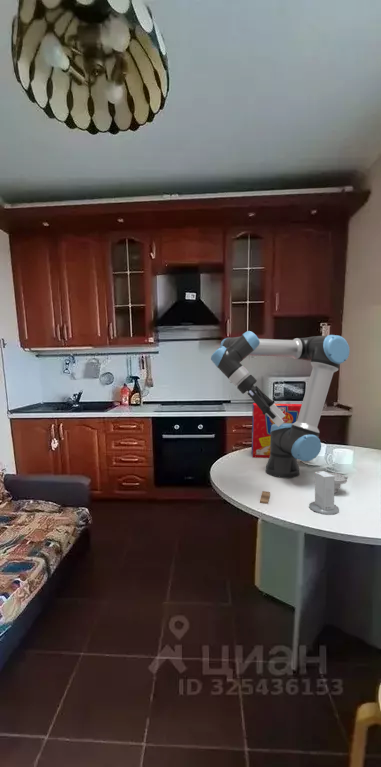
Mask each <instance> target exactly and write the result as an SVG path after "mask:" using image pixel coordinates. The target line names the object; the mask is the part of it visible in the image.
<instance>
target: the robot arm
mask: <svg viewBox="0 0 381 767" xmlns="http://www.w3.org/2000/svg"><path fill="white" fill-rule="evenodd" d="M248 356H250V357H257V356H258V357H277V358H278V357H279V358H281V357H283V358H284V357H285V358H292V359H294V360H302V361H307V362H310V365H311V367H312V370H311V372H310V376H309V379H308V382H307V386H306V388H305V391H304V392H305V393H304V397H303V399H302V402H301V404H302V406H301V409H300V412H299V416H298V419H297V421H296V422H295V423H283V422H284V421H283V420H282V418H283V417H285V415H284V414H283V412H282V411H281V410H280V409H279V408H278V407H277V406H276V405H275V404H276V401H275V400H274V399H273V400H272V398H270V397H269V396H268V395H266V394H265V393H264V392H263V391H262V390H261V388H259V387H258V386H257V385H255V384H256V383H257V380H258V379H256V378H255V377H254V376H253V375H252V374H250V371H249V370H248V369H247V368H246V367H245V366H244V365H243V364H242V362H243V360H244V359H246V358H247V357H248ZM349 357H350V345H349V344H348V341H347V339H345V338H344V337H343V336H341V335H337V334H336V335H335V334H327V335H317V336H315V335H314V336H309V337H296V338H293V339H273V338H259V337H258V336H257V334H255V333H254V332H253V331H250V330H247V331H245V332H244V333H242V334H241V336H236V337H226V338H224V339H222V340H221V342H220V345H219V348H217V349H216V350H215V351H214V352H213V353H212V354H211V356H210V360H211V361H212V363H213V364H214V365H215V367H216V368H217V369H218V370H219V371H220V372H222V374H224V376H226V378H227V379H228V380H229V383H230V384H233V385H234V386H235V387H236V386H237V387H236V388H237V390H238V391H240V393H241V394H245V393H247V395H248V396H249V397H250V398H251V399H252V401H253V403H256V404H257V406H258V407H259V408H260V409H261V411H262V412H263V415H265V414H266V415H267V416H268V417H269V418H270V419H271V420H272V421H273V422H274V423H275V424H273V425H272V426H271V431H270V433H271V441H270V457H269V458H268V460H267V462H266V463H267V464H266V466H265V473H267V474H268V475H270V476H272V477H276V478H283V479H284V478H288V479H291V478H296V477H298V476H299V475H300V471H301V470H300V469H301V468H300V466H299V463H298V461H301V462H310V461H313V460H314V459H316V458H317V456H318V455H319V454H320V452H321V450H322V442H321V439H320V438H319V437H320V429H319V428H318V426H319V423H320V419H321V415H322V414H323V413H322V412H323V409H324V405H325V404H326V399H327V395H328V392H329V390H330V386H331V383H332V379H333V376H334V373H336V372H337V371H339V369H340V366H341V364H343V363H345V362H346V361H347V360H348V359H349Z"/></svg>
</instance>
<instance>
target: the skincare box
mask: <svg viewBox="0 0 381 767" xmlns="http://www.w3.org/2000/svg"><path fill="white" fill-rule="evenodd" d="M329 473H330V472H329ZM329 473H328V472H327V471H323V470H321V471H315V472H314V502H315V504H316V505H317V506H319V507H320V508H322V509H323V510H333V509H334V505H335V493H334V476H333V475H331V474H329Z"/></svg>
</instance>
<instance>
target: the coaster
mask: <svg viewBox="0 0 381 767" xmlns="http://www.w3.org/2000/svg"><path fill="white" fill-rule="evenodd" d="M308 508H309V509H310V510H311V511H312V512H314V513H317V514H321V515H328V516H329V515H332V516H333V515H336V514H338V513H340V512H339V511H340V508H339V506H337V505H336V504H334V509H333V510H323V509H322V508H320V507H319V506H317V505H316V504H315V501H311V502H309V507H308Z"/></svg>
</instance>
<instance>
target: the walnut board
mask: <svg viewBox="0 0 381 767" xmlns="http://www.w3.org/2000/svg"><path fill="white" fill-rule="evenodd" d="M270 496H271V491H265V490H262V491H261V495H260V499H259V504H267V505H269V501H270Z"/></svg>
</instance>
